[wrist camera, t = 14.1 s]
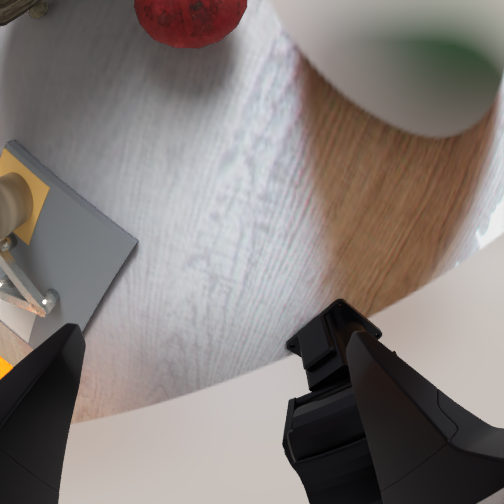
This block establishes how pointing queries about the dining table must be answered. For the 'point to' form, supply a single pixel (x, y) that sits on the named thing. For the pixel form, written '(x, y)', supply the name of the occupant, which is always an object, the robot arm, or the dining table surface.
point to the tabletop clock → (21, 9)
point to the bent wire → (22, 284)
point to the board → (60, 250)
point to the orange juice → (4, 367)
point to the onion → (189, 20)
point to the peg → (14, 203)
